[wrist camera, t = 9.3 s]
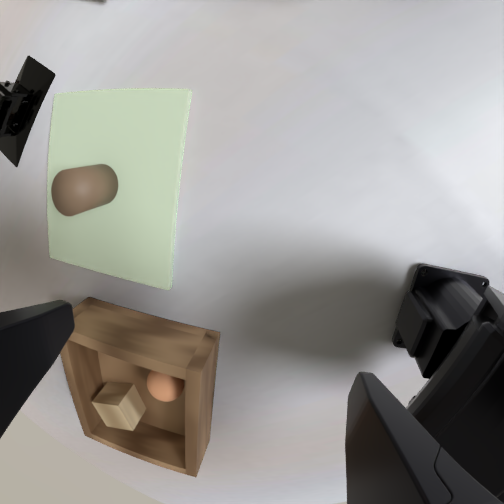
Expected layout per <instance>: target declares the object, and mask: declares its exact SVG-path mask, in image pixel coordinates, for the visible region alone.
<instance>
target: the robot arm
mask: <svg viewBox="0 0 504 504" xmlns="http://www.w3.org/2000/svg"><path fill="white" fill-rule="evenodd" d="M424 269H426V272H425V273H424V274H421V272H422V270H424ZM483 282H484V285H482V283H483ZM396 326H397V328H396V330H395V333H394V335H393V338H392V342H393V344H394V346H395V347H400V348H406V349H407V351H408V354H409V355H410V357H412V358H415V360H416V362H417V364H418V367H419V369H420V371H421V374H422V376H423V378H428V379H429V380H428V381H427V383H426V384H425V385H424V386H423V388H422V389H421V390H420V391H419V393H418V394H417V395H416V396H414V397H413V398H412V399H411V400H410V401H409V404H408V406H407V407H406V408H405V407H404V406H403V405H402V404H401V403H400V402H399V400H398V399H397V398H396V397H395V396H394V395H393V394H392V393H391V392H390V391H389V390H388V389H387V388H386V387H385V386H384V385H383V383H382V382H381V381H380V380H379V379H378V378H377V377H376V376H375V375H374V374H373V373H368V372H359V373H358V374H357V376H356V378H355V381H354V383H353V385H352V388H351V390H350V392H349V396H348V406H347V424H346V439H345V453H346V478H347V504H504V294H503V293H502V292H500V291H498V290H496V289H494V288H493V287H491V286H489V280H488V279H487V278H486V277H484V276H479V275H475V274H470V273H466V272H461V271H456V270H452V269H447V268H442V267H437V266H433V265H428V264H421V265H419V266H418V267H417V269H416V272H415V276H414V279H413V282H412V285H411V288H410V291H408V292H407V293H406V295H405V298H404V301H403V304H402V307H401V309H400V312H399V315H398V318H397V321H396ZM74 328H75V322H74V315H73V308H72V305H71V304H70V303H68V302H66V301H63V300H58V301H53V302H48V303H44V304H39V305H34V306H29V307H25V308H20V309H15V310H10V311H6V312H1V313H0V438H1V437H2V435H3V434H4V432H5V431H6V429H7V428H8V426H9V425H10V423H11V422H12V420H13V419H14V417H15V416H16V414H17V413H18V411H19V410H20V409H21V407H22V406H23V404H24V403H25V401H26V400H27V399H28V397H29V396H30V394H31V393H32V392H33V390H34V389H35V388H36V386H37V385H38V384H39V382H40V381H41V379H42V378H43V377H44V375H45V374H46V373H47V371H48V370H49V369H50V367H51V366H52V365H53V363H54V362H55V360H56V359H57V357H58V355H59V354H60V352H61V350H62V349H63V347H64V346H65V344H66V342H67V341H68V339H69V338H70V336H71V334H72V333H73V331H74ZM398 339H401V340H400V341H398V342H397V340H398Z"/></svg>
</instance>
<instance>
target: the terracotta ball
mask: <svg viewBox="0 0 504 504" xmlns="http://www.w3.org/2000/svg"><path fill="white" fill-rule="evenodd" d="M147 387H148V390H149V392H150V393H151V395H152V396H153V397H154V398H156V399H158V400H160V401H164V402H169V401H173V400H175V399H177V398H178V397H179V396H180V395H181V393H182V392H183V389H184V380H183V379H180V378H177V377H173V376H170V375H167V374H163V373H160V372H157V371H153V370H152V371H151V372H150V373H149V375H148V378H147Z"/></svg>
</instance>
